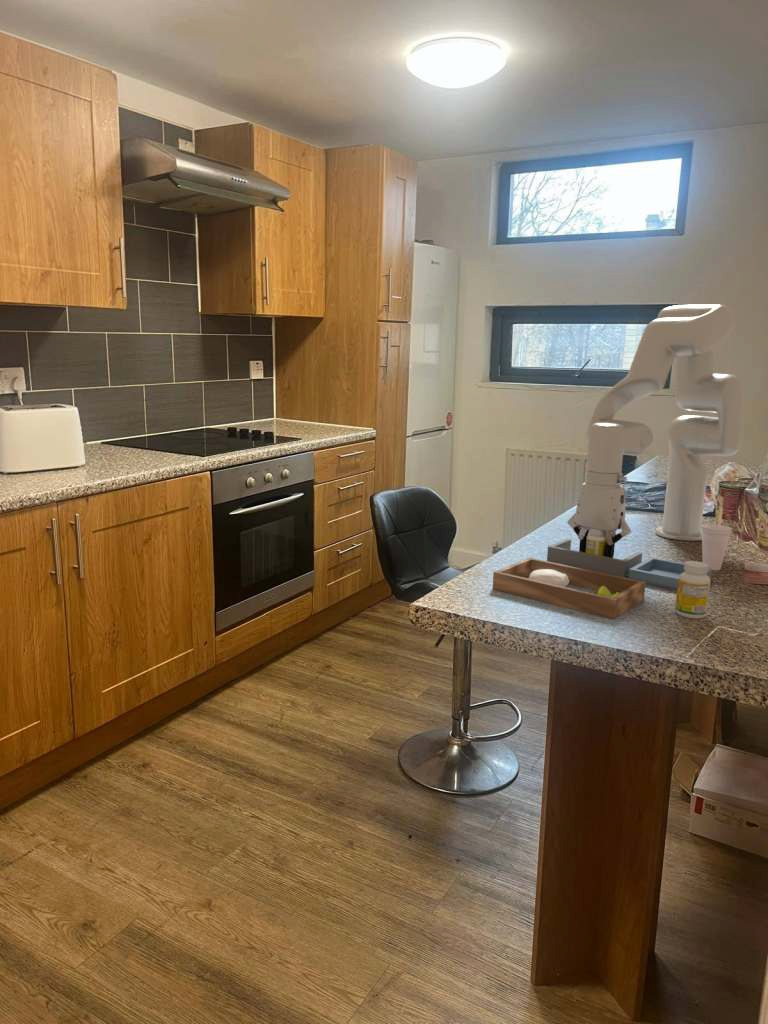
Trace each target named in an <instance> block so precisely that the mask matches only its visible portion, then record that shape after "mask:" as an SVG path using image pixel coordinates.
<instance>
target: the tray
mask: <svg viewBox="0 0 768 1024" xmlns="http://www.w3.org/2000/svg"><path fill="white" fill-rule="evenodd" d="M684 564H685V562H679V561H673V560H667V559H662V558H658V557H657V558H656V557H649V558H647V559H645V560H642V562H641V563H640V564H638V565H636V566H634V567H632V568H630V569H629V575H628V577H627V578H629V579H634V580H639V581H644V582H646V585H649V586H653V587H657V588H658V587H659V588H663V589H668V590H673V591H677V590H678V581H679V576H680V574H681V573H683V572H685V570H684ZM712 573H713V570H712V569H711V568H708V572H707V573H706V575H707V576H708V577H709V578H710V581H711V580H712Z"/></svg>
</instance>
